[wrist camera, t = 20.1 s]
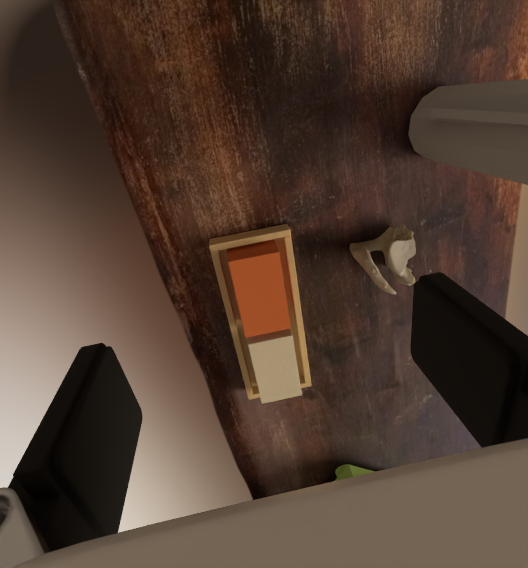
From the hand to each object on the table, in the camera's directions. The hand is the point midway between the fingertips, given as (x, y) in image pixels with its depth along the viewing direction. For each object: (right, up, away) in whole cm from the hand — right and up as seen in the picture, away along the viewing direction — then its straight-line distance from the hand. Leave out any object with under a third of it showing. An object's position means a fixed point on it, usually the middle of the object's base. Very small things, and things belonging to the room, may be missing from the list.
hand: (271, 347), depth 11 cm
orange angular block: (-1, +2, +32) cm, 32 cm away
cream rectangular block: (+1, -7, +37) cm, 38 cm away
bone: (+14, +7, +32) cm, 36 cm away
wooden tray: (0, -2, +35) cm, 35 cm away
